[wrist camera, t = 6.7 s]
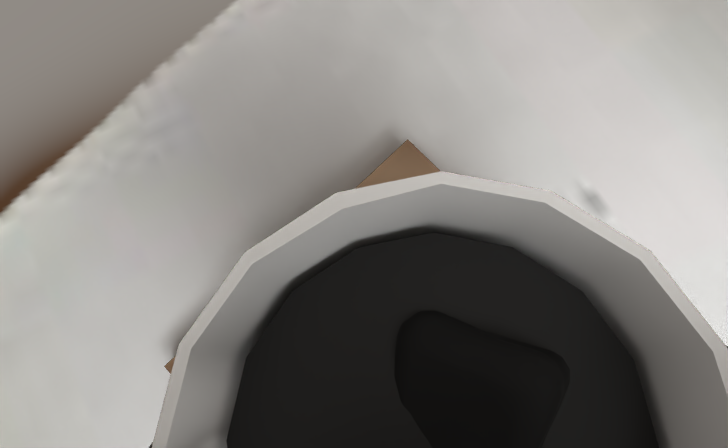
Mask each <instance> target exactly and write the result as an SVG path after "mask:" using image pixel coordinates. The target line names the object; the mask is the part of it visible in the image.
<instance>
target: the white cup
mask: <svg viewBox="0 0 728 448" xmlns="http://www.w3.org/2000/svg"><path fill="white" fill-rule="evenodd" d="M152 448H728V348H727V347H726V345H725V344H724V343H723V342H722V340H721V339H720V338H719V337H718V335H717V334H716V333H715V332H714V330H713V329H712V328H711V326H710V325H709V324H708V323H707V321H706V320H705V319H704V318H703V316H702V315H701V314H700V313H699V311H698V310H697V309H696V308H695V306H694V305H693V304H692V302H691V301H690V300H689V299H688V297H687V296H686V295H685V294H684V292H683V291H682V290H681V289H680V287H679V286H678V285H677V284H676V282H675V281H674V280H673V279H672V277H671V276H670V275H669V273H668V272H667V271H666V270H665V268H664V267H663V266H662V265H661V263H660V262H659V261H658V260H657V258H656V257H655V256H654V255H653V253H652V252H651V251H650V250H648V249H647V248H645V247H643V246H642V245H640V244H638V243H637V242H635V241H633V240H632V239H630V238H628V237H627V236H625V235H623V234H622V233H620V232H619V231H617V230H615V229H614V228H612V227H610V226H609V225H607V224H605V223H604V222H602V221H600V220H599V219H597V218H595V217H594V216H592V215H590V214H589V213H587V212H585V211H584V210H582V209H580V208H579V207H577V206H575V205H574V204H572V203H570V202H569V201H567V200H565V199H564V198H562V197H561V196H559V195H557V194H556V193H554V192H552V191H550V190H544V189H538V188H533V187H527V186H522V185H516V184H511V183H505V182H499V181H494V180H488V179H483V178H477V177H471V176H466V175H460V174H455V173H449V172H444V171H441V172H436V173H431V174H426V175H421V176H416V177H411V178H406V179H401V180H396V181H391V182H386V183H381V184H376V185H371V186H366V187H361V188H356V189H351V190H346V191H341V192H336V193H335V194H333V195H332V196H330V197H329V198H327V199H325V200H324V201H322V202H321V203H319V204H318V205H316V206H315V207H313V208H312V209H310V210H309V211H307V212H305V213H304V214H302V215H301V216H299V217H298V218H296V219H295V220H293V221H292V222H290V223H289V224H287V225H285V226H284V227H282V228H281V229H279V230H278V231H276V232H275V233H273V234H272V235H270V236H269V237H267V238H266V239H264V240H262V241H261V242H259V243H258V244H256V245H255V246H253V247H252V248H250V249H249V250H247V251H246V252H244V254H243V255H242V257H241V258H240V259H239V261H238V262H237V264H236V265H235V266H234V268H233V269H232V271H231V272H230V273H229V275H228V276H227V278H226V279H225V280H224V282H223V283H222V285H221V286H220V287H219V289H218V290H217V292H216V293H215V294H214V296H213V297H212V299H211V300H210V301H209V303H208V304H207V306H206V307H205V308H204V310H203V311H202V313H201V314H200V315H199V317H198V318H197V320H196V321H195V322H194V324H193V325H192V327H191V328H190V329H189V331H188V332H187V334H186V335H185V336H184V338H183V339H182V341H181V342H180V343H179V345H178V349H177V353H176V357H175V360H174V364H173V368H172V372H171V376H170V379H169V383H168V387H167V391H166V395H165V398H164V402H163V406H162V410H161V414H160V418H159V421H158V425H157V429H156V433H155V437H154V440H153V444H152Z"/></svg>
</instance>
